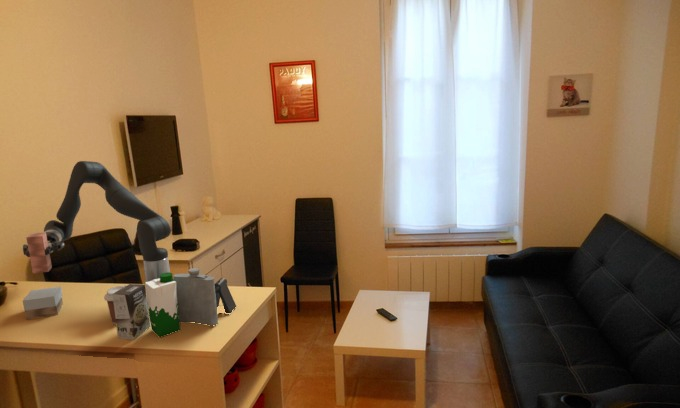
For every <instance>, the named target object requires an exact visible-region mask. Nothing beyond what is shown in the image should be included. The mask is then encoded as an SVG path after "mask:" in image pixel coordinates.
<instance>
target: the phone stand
mask: <svg viewBox="0 0 680 408" xmlns="http://www.w3.org/2000/svg"><path fill="white" fill-rule="evenodd" d="M215 294H216V305H217V307H218V306H220V301H221V303H222V306H224V309H225V312H226V313H231V312H232V310H233V309H234V308H235V307H236V308H237V304H236V303H235V300H234V297H233V296H232V294H231V292H230V289H229V287H228V280H227V278H225V277H220V278H219V279H218V280H217V281H215ZM236 308H235V309H236ZM235 309H234V310H235ZM234 310H233V311H234ZM232 313H233V312H232ZM232 313H231V314H232Z"/></svg>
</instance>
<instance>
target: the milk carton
mask: <svg viewBox="0 0 680 408" xmlns="http://www.w3.org/2000/svg"><path fill="white" fill-rule="evenodd" d="M144 285H145V288H146V296H147V304H148V312H149V320H150V327H151V331H152V330H153V331H154V332H155V333H156V334H157V335H158V336H159V337H160V338H162V337H161V336H163V337H165V336H164V335H166V336H168V335H167V334H169V335H171V334H173V333H172V332H174V333H176V332H175V331H177V332H179V331H178V330H180V331H181V325H180V324H181V322H179V312H178V302H177V293H176V281H175V280H174V278H173V273H172V272H170V273H163V274H161V275H160V278H159V279H154V280H152V281H149V282H146V281H145V282H144ZM153 331H152V332H153ZM154 332H153V333H154ZM170 333H171V334H170ZM156 334H155V335H156ZM158 336H157V337H158ZM159 337H158V338H159Z"/></svg>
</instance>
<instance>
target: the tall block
mask: <svg viewBox="0 0 680 408" xmlns="http://www.w3.org/2000/svg"><path fill="white" fill-rule="evenodd" d="M43 232H44V231H43ZM43 232H37V233H36V232H35V233H30V234H29V235H27V236H26V237H25V238H26V245H28V250H29V254H30V257H29V260H30V264H31V271H32V274H40V273H49V272H50V271H51V269H52V268H53V267H52V266H53V265H52V260H51V253H50V254H48V255H45V249H46V248H47V247H48V241H47V236H46V232H44V233H43Z"/></svg>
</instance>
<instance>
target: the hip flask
mask: <svg viewBox="0 0 680 408" xmlns="http://www.w3.org/2000/svg"><path fill="white" fill-rule="evenodd" d="M172 276H173V279H174V280H175V281H176V293H177V302H178V312H179V322H180V323H181V322H195V323H201V324H200V325H202V324H207V325H210V326H213V325H216V324H218V325H219V319H218V318H219V317H218V314H217V305H216V294H215V283H216V281H215V277H214V276H210V275H205V274H202V273H200V268H198V267H194V268H193V267H191V268H190V269H188V273H176V274H172ZM195 323H194V324H195ZM210 326H209V327H210Z"/></svg>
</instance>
